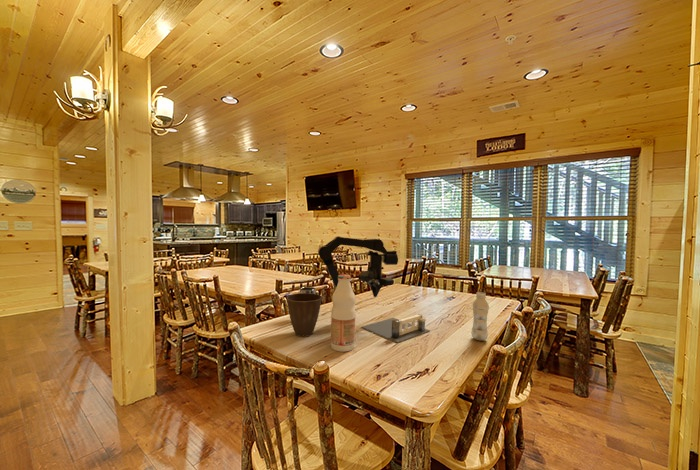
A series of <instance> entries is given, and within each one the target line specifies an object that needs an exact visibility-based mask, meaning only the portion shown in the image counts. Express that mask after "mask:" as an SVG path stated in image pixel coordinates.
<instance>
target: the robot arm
mask: <svg viewBox="0 0 700 470" xmlns="http://www.w3.org/2000/svg"><path fill="white" fill-rule="evenodd" d="M340 246H348V247H355V248H356V247H358V248H365V249H368V251H367V252H366V253H365V255H366V256H368V257H369V266H367V270H364V272H362V273H360V274H359V275H358V280H359V281H361V282H365V283H366V284H367V285H368V286H370V289H371V292H372V295H373V297H374V298H377V296H378V294H379V292H380V291H381V288H382V287H384V286H385V287H386V286H393V285H394V278H392V277H384V275H383V274H382V273H383V271H382V270H384V269H385V268H384V266H383V265H382V264H383V263H384V265H385V266H387V265H388V266H390V265H392V266H394V265H395V266H397V265H398V263H399V257H398V253H397V252H398V251H396V250H387V249H386V248H385V244H384V242H383V239H380V238H367V239H362V238H352V237H343V236H339V235H338V236H335V237H334V238H333V239H332V240H330V241H329V242H327V243H326V244H325V245H321V246H319V247H318V249H317V254H318V255H319V257H320V259H321V260H322V262H323V263H324V265H325V267H326V269H327V272H328V274H329V276H330V278H331V280H332V283H333V285H334V287H335V289H336V287H337V284H338V282H339V280H338V275H339V273H338V271H337V268H336V266H335V264H334V259H333V258H334V257H333V254H332V253H333V252H334V251H335V250H336V249H338V248H339V247H340Z"/></svg>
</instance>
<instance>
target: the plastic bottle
mask: <svg viewBox="0 0 700 470" xmlns="http://www.w3.org/2000/svg"><path fill="white" fill-rule="evenodd" d="M486 294H487V293H486V292H484V291H483V292H482V291H477V292H476V295H475V297H476V299H474V300H473V302H472V313H473V317H472V318H473V321H472V327H471V332H470V333H471V337H472V338H473V339H474V340H476V341H479V342H484V341H485V342H486V341H487V340H488V336H489V333H488V322H487V321H488V314H489V309H490V308H489V307H490V306H489V302H488V301H487V300H486V299H487V295H486Z"/></svg>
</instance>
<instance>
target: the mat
mask: <svg viewBox="0 0 700 470" xmlns="http://www.w3.org/2000/svg"><path fill="white" fill-rule="evenodd" d="M392 320H399V319H398V318H396V317H391V318H387V319H383V320H381V321H376V322H373V323H370V324H365V325H362V326H361V329H364V330H366V331H368V332H370V333H373V334H375V335H378V336H380V337H382V338H385V339H387V340H389V341H392V342H393V343H396V344H400V343H402V342H405V341H407V340H410V339H413V338H416V337H418V336H421V335H423V334H427V333H429V332H430V329H427V328H425V331H423V332H421V331H418V330H415V331H412V332H409V333H406V334H403V335H400V336H399V338H397V339H394V338H392V337H391V335H392ZM408 327H412V323H411V322H409V323H408ZM402 329H405V324H403V325H402Z"/></svg>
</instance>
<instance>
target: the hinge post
mask: <svg viewBox="0 0 700 470" xmlns="http://www.w3.org/2000/svg"><path fill="white" fill-rule="evenodd" d="M399 320H400V319H398V320H392V335H391V337H392V338H394V339H397V338H399Z"/></svg>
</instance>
